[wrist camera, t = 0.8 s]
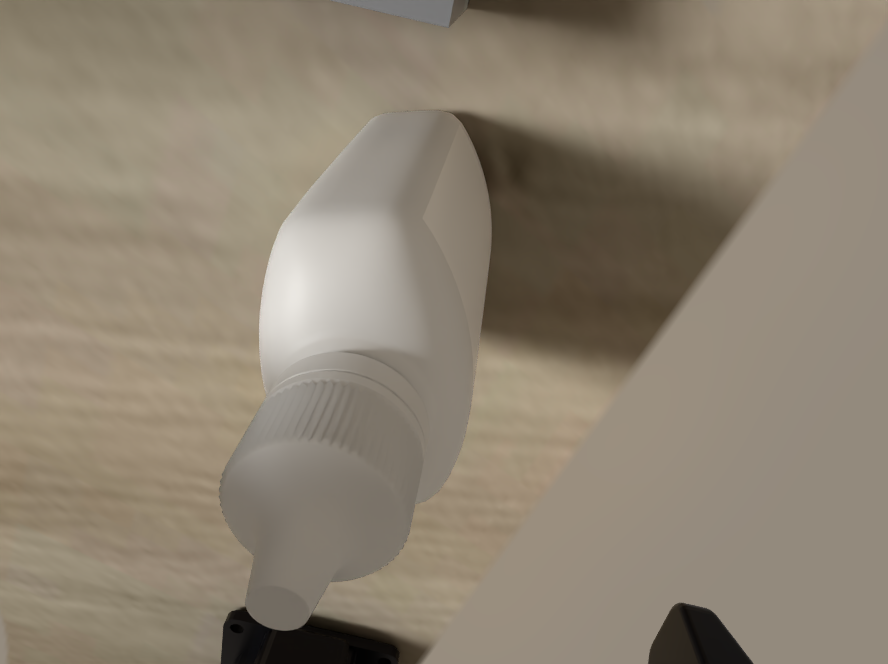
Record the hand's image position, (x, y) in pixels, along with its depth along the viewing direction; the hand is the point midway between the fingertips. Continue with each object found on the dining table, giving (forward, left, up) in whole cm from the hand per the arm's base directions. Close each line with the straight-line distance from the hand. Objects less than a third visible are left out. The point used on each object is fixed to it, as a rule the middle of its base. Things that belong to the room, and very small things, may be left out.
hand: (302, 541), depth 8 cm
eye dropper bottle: (0, 0, -11) cm, 11 cm away
